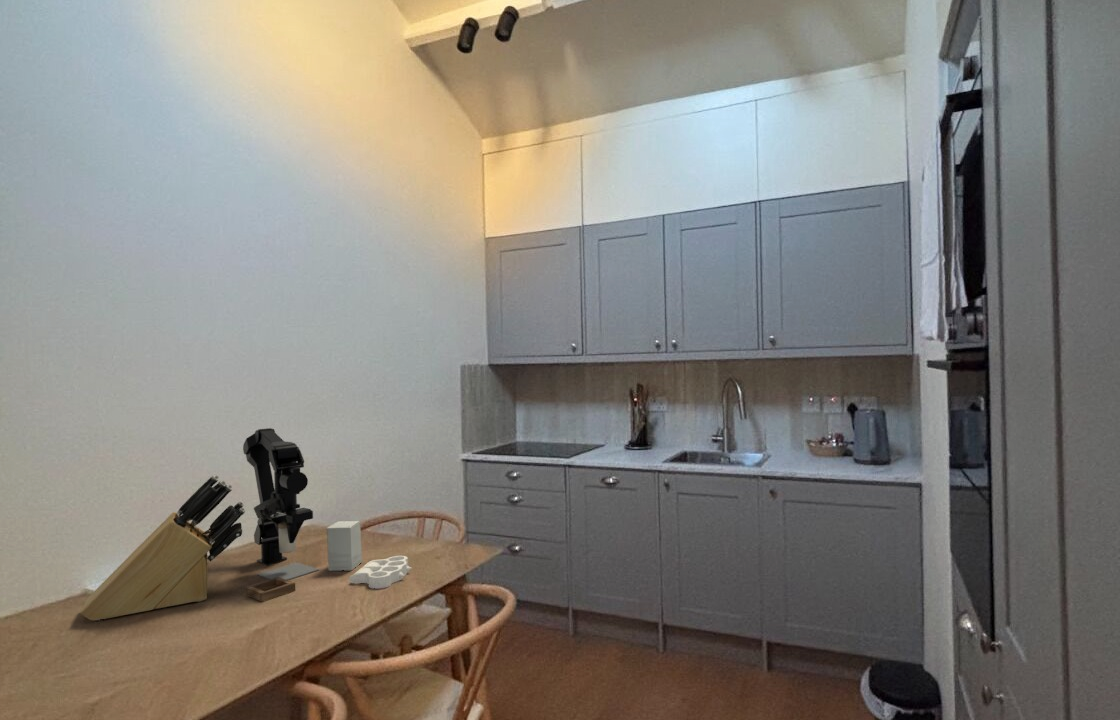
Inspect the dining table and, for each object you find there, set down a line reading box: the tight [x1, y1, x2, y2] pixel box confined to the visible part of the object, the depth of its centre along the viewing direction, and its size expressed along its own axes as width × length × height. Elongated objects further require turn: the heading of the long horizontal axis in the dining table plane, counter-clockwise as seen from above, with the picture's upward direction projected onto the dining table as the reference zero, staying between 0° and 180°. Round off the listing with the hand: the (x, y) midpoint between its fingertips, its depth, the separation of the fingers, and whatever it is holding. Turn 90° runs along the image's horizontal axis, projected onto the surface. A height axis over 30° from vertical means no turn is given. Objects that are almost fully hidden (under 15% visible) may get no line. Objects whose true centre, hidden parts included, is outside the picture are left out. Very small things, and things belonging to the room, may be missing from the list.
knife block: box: [80, 474, 246, 621], centre depth 157 cm, size 11×35×31 cm, turn 119°
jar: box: [278, 522, 297, 554], centre depth 176 cm, size 5×5×8 cm
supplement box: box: [326, 520, 363, 572], centre depth 180 cm, size 7×7×13 cm
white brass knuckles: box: [348, 555, 413, 589], centre depth 170 cm, size 3×18×15 cm
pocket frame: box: [244, 577, 296, 602], centre depth 161 cm, size 9×9×2 cm
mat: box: [256, 561, 320, 581], centre depth 176 cm, size 12×12×1 cm
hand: (287, 541), depth 176 cm, fingers closed on jar, 4 cm apart
